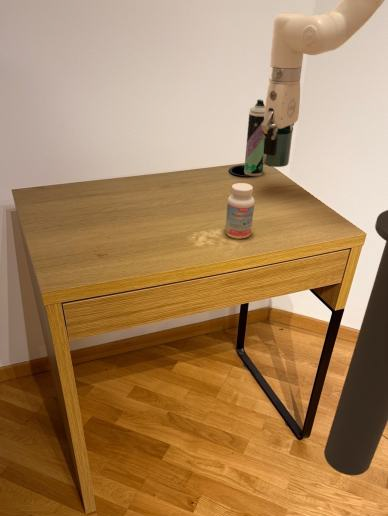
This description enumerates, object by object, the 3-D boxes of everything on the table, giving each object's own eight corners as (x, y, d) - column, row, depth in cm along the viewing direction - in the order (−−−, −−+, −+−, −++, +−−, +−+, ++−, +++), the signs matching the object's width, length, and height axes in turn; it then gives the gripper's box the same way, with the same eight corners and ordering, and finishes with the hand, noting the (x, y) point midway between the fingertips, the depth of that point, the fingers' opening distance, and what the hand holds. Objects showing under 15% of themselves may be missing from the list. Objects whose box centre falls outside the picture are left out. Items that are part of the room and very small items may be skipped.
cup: (280, 157, 135) (283, 126, 130) (293, 165, 130) (297, 133, 125) (258, 160, 133) (260, 129, 128) (270, 168, 128) (273, 136, 123)
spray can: (241, 170, 149) (247, 98, 136) (257, 169, 150) (265, 97, 138) (248, 177, 145) (255, 103, 132) (265, 175, 146) (273, 101, 134)
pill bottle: (229, 240, 113) (233, 192, 106) (222, 228, 117) (225, 182, 110) (254, 238, 114) (259, 191, 107) (246, 227, 118) (251, 180, 111)
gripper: (280, 82, 111) (272, 162, 122) (315, 71, 122) (305, 146, 133) (252, 78, 115) (246, 156, 126) (289, 68, 126) (281, 141, 137)
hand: (276, 150), depth 130 cm, fingers closed on cup, 7 cm apart
